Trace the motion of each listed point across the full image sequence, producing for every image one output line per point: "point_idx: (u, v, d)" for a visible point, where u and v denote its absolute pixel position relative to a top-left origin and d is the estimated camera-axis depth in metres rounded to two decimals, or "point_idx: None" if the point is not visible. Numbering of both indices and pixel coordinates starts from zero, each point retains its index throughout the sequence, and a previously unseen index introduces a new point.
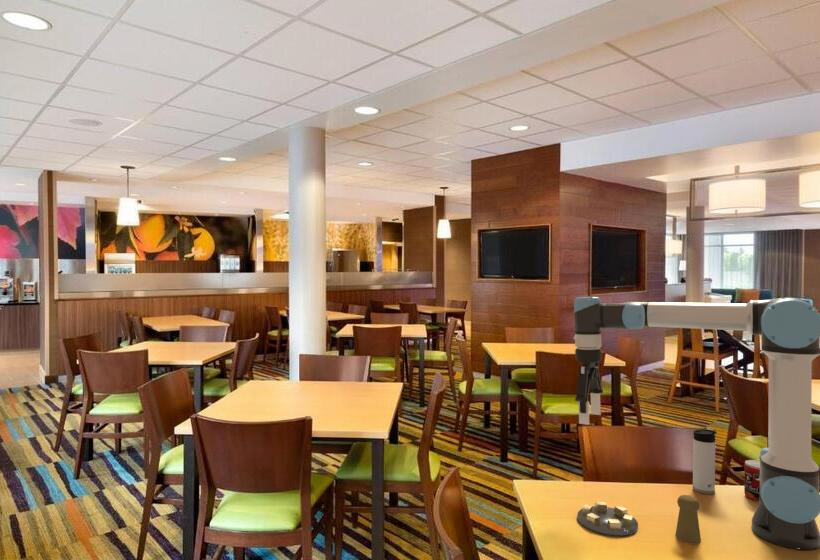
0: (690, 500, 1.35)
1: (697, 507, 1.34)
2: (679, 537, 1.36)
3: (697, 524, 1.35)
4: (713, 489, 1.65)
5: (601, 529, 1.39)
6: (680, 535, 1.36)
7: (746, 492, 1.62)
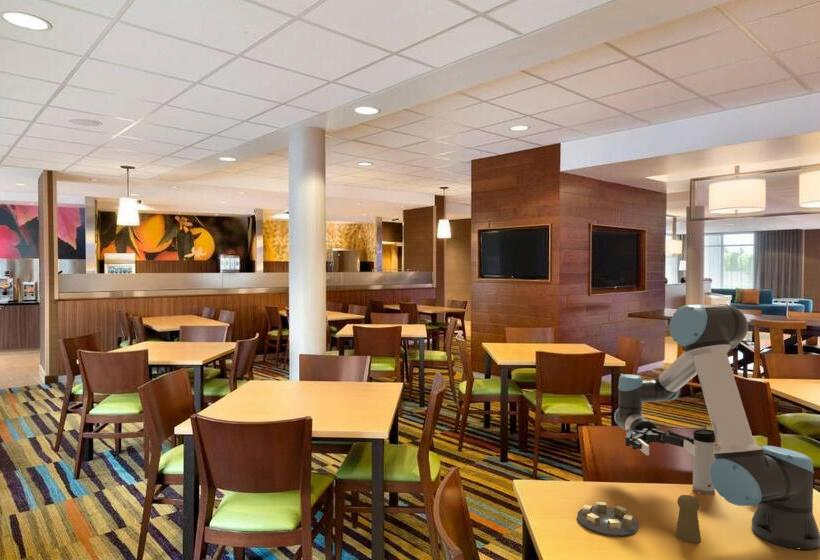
0: (690, 500, 1.35)
1: (697, 507, 1.34)
2: (679, 537, 1.36)
3: (697, 524, 1.35)
4: (713, 489, 1.65)
5: (601, 529, 1.39)
6: (680, 535, 1.36)
7: None
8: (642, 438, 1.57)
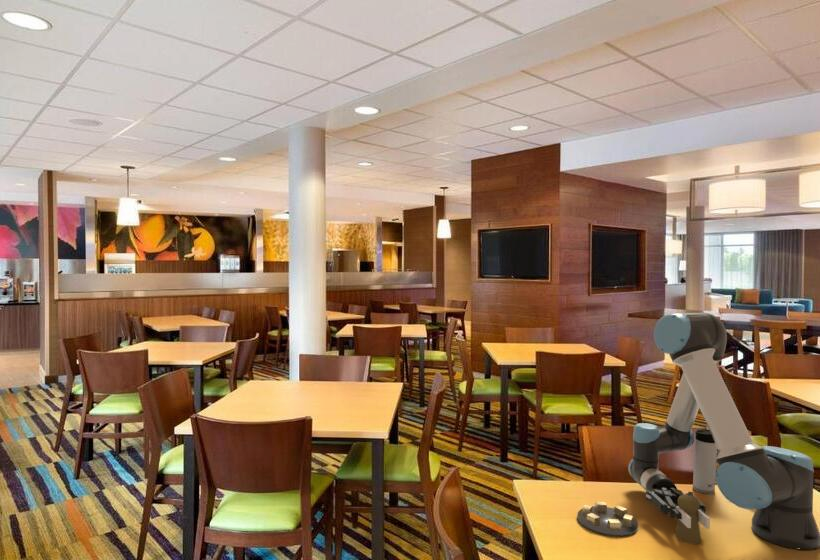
0: (690, 500, 1.35)
1: (697, 507, 1.34)
2: (679, 537, 1.36)
3: (697, 524, 1.35)
4: (713, 489, 1.65)
5: (601, 529, 1.39)
6: (680, 535, 1.36)
7: None
8: None
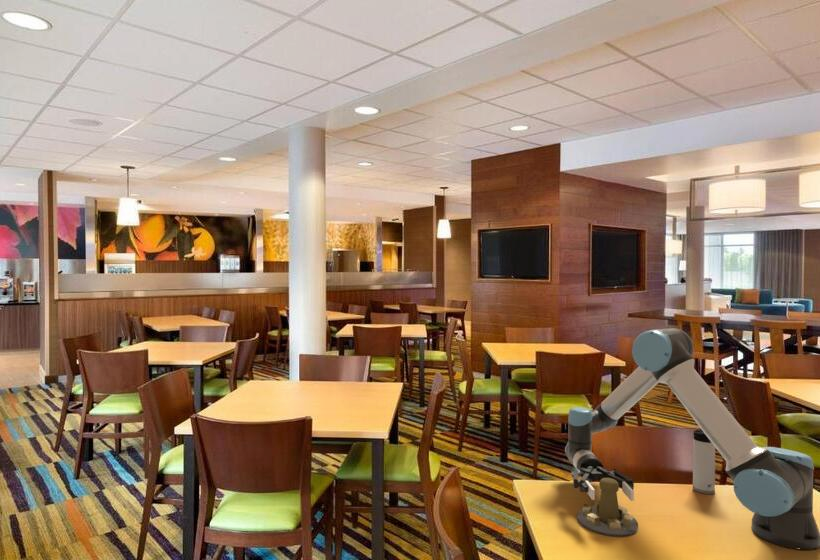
0: (609, 482, 1.44)
1: (616, 488, 1.43)
2: (600, 517, 1.44)
3: (616, 505, 1.43)
4: (713, 489, 1.65)
5: (601, 529, 1.39)
6: (600, 515, 1.44)
7: None
8: (588, 478, 1.52)
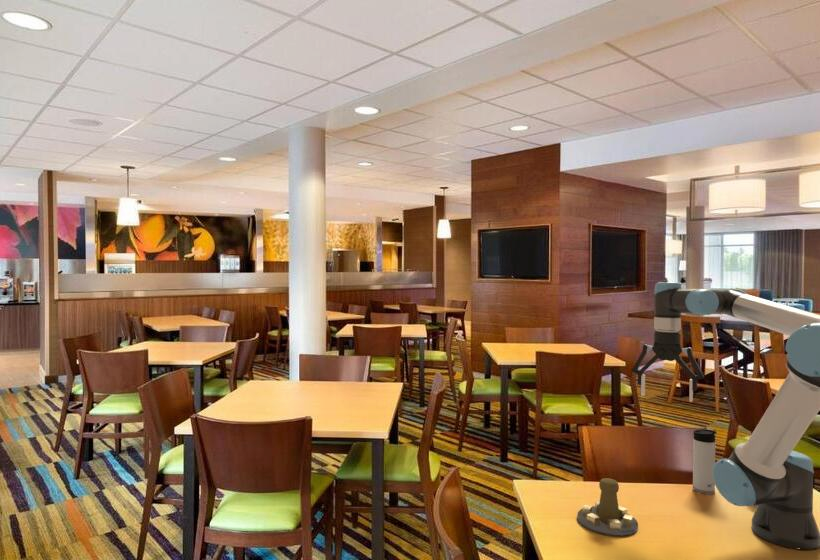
0: (609, 482, 1.43)
1: (616, 489, 1.43)
2: (600, 518, 1.44)
3: (616, 505, 1.43)
4: (713, 489, 1.65)
5: (601, 529, 1.39)
6: (600, 515, 1.44)
7: None
8: (653, 362, 1.63)
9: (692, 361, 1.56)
